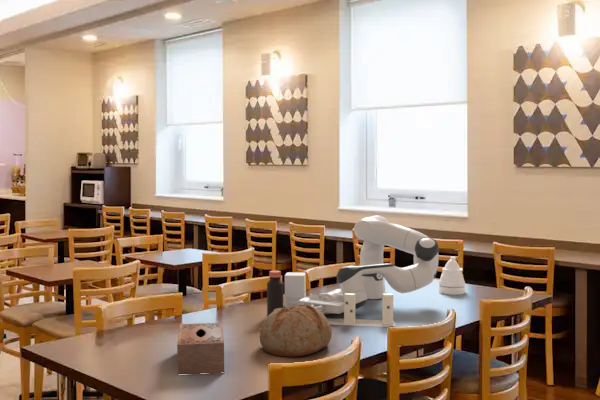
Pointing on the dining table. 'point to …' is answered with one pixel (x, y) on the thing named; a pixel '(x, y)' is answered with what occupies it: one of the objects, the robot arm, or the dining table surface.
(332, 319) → the felt strip
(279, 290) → the bottle
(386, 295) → the tile one
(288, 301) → the supplement box
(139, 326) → the dining table surface
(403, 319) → the dining table surface
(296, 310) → the bread
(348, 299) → the tile two
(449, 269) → the honey pot
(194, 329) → the tissue box cover
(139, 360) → the dining table surface
